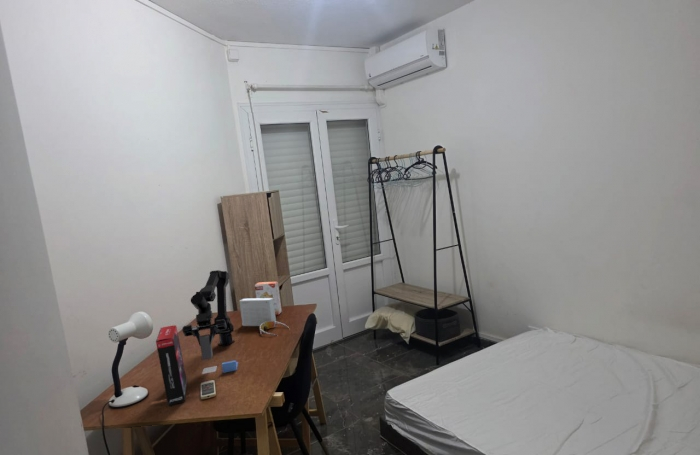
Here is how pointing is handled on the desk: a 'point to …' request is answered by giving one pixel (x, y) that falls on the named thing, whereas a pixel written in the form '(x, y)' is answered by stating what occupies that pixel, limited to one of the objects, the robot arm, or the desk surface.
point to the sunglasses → (269, 326)
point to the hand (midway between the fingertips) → (205, 344)
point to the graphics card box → (171, 364)
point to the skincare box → (257, 311)
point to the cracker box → (269, 293)
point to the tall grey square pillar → (206, 347)
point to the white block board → (223, 367)
